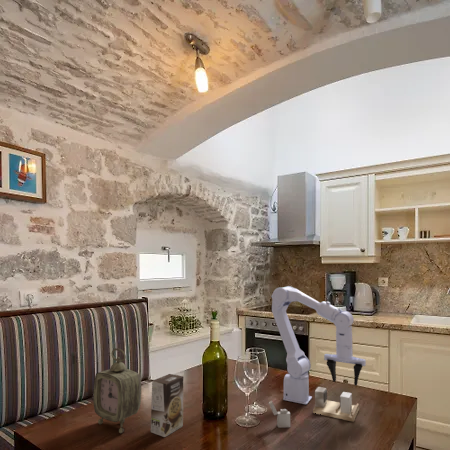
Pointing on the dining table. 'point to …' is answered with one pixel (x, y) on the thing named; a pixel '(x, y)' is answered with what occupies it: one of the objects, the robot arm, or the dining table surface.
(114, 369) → the tabletop clock
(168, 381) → the coffee box
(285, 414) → the lighter
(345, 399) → the white rectangular box
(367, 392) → the dining table surface
